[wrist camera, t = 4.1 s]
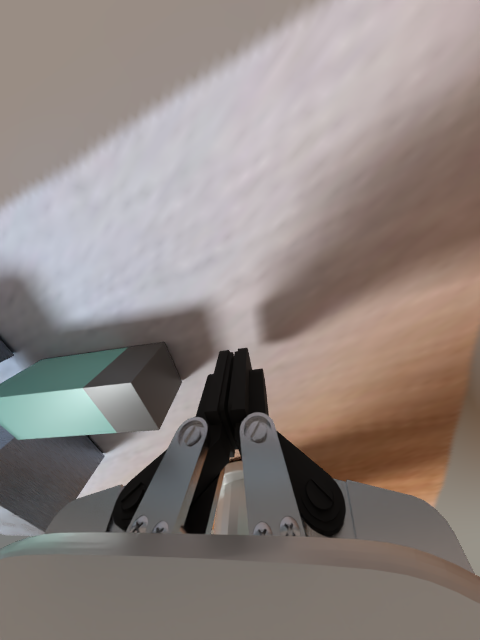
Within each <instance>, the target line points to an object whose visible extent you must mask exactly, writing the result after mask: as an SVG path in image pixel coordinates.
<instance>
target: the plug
mask: <svg viewBox="0 0 480 640" xmlns="http://www.w3.org/2000/svg"><path fill="white" fill-rule="evenodd" d="M181 383H182V381H181V379H180V377H179V374H178V372H177V370H176V368H175V365H174V363H173V361H172V358H171V356H170V354H169V352H168V349H167V347H166V345H165V343H164V342H162V343H155V344H148V345H141V346H134V347H127V348H120V349H113V350H106V351H99V352H92V353H85V354H78V355H71V356H64V357H57V358H50V359H43V360H40V361H39V362H37V363H35V364H33V365H32V366H30V367H28V368H27V369H25V370H23V371H21V372H20V373H18V374H16V375H15V376H13V377H11V378H9V379H8V380H6V381H4V382H3V383H1V384H0V425H1V426H2V427H3V428H5V429H6V430H7V431H8V432H9V433H10V434H12V435H13V436H14V437H15V438H16V439H17V440H22V439H36V438H51V437H65V436H79V435H94V434H108V433H122V432H137V431H151V430H159V429H160V427H161V425H162V423H163V421H164V419H165V417H166V415H167V413H168V410H169V408H170V406H171V404H172V402H173V400H174V398H175V396H176V394H177V392H178V390H179V387H180V385H181Z"/></svg>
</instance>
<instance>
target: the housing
mask: <svg viewBox="0 0 480 640" xmlns="http://www.w3.org/2000/svg"><path fill="white" fill-rule="evenodd" d="M12 356H14V354H13V353H12V352H11V351H10V350H9V349H8V348H7V346H6V345H5V344H4V343H3V342H2V341H1V340H0V362H2V361H4V360H6V359H8V358H10V357H12ZM103 458H104V455H103V454H102V453H101V451H100V450H99V449H98V448H97V447H96V446H95V445H94V444H93V443H92V441H91V440H90V439H89V438H88V437H87V436H86V435H79V436H65V437H51V438H36V439H22V440H17V439H16V438H15V437H14V436H13V435H12V434H10V433H9V432H8V431H7V430H6V429H5V428H3V427H2V426H1V425H0V533H1V534H3V535H23V536H37V535H42V534H44V533H45V531H46V530H47V528H48V526H49V525H50V523H51V521H52V520H53V518H54V517H55V516H56V515H57V514H58V513H59V511H60V510H61V509H62V508H63V507H65V506H66V505H67V504H68V503H70V502H72V501H74V500H76V498H77V497H78V495H79V494H80V492H81V491H82V489H83V488H84V486H85V485H86V483H87V482H88V480H89V479H90V477H91V476H92V474H93V473H94V471H95V470H96V468H97V467H98V465H99V464H100V462H101V461H102V459H103Z"/></svg>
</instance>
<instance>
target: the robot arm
mask: <svg viewBox="0 0 480 640" xmlns="http://www.w3.org/2000/svg"><path fill="white" fill-rule="evenodd" d="M235 449H239V452H240V455H241V458H242V461H236V462H232V463H229V458H230V457H234V454H235ZM216 508H217V510H216ZM215 513H216V517H215ZM214 517H215V525H214V533H213V534H211V531H212V526H213V522H214ZM0 640H480V577H479V576H477V575H475V573H474V572H473V569H472V567H471V565H470V563H469V561H468V559H467V557H466V555H465V553H464V551H463V549H462V547H461V545H460V543H459V541H458V539H457V537H456V535H455V533H454V531H453V530H452V528H451V527H450V525H449V524H448V522H447V521H446V519H445V518H444V517H443V516H442V515H441V514H440V513H439V512H438V511H437V510H436V509H435V508H434V507H432V506H431V505H429V504H428V503H427V502H425V501H424V500H422V499H419V498H417V497H414V496H411V495H407V494H403V493H399V492H395V491H391V490H387V489H383V488H379V487H375V486H371V485H367V484H363V483H359V482H354V481H350V480H346V482H345V481H341V480H337V479H333V478H332V477H331V476H330V475H329V474H328V473H326V472H325V471H324V470H323V469H322V468H320V467H319V466H318V465H317V464H316V463H314V462H313V461H312V460H311V459H310V458H309V457H307V456H306V455H305V454H304V453H303V452H301V451H300V450H299V449H298V448H297V447H295V446H294V445H293V444H292V443H291V442H289V441H288V440H287V439H286V438H285V437H284V436H282V435H281V434H280V433H279V432H278V431H276V428H275V425H274V423H273V420H272V419H271V418H270V417H269V415H268V404H267V394H266V386H265V379H264V373H263V369H255V370H252V367H251V362H250V357H249V353H248V349H247V348H242V349H238V351H237V352H235V354H233V352H230V351H229V350H226V351H220V352H219V356H218V359H217V363H216V367H215V371H214V374H210V375H208V377H207V380H206V384H205V387H204V390H203V394H202V397H201V401H200V404H199V407H198V411H197V414H196V417H193V418H190V419H188V420H186V421H185V422H184V423H183V424H182V425H181V426H180V427H179V428H178V430H177V431H176V433H175V435H174V437H173V439H172V441H171V443H170V445H169V447H168V449H167V450H166V451H165V452H163V453H162V454H161V455H160V456H159V457H158V458H156V459H155V460H154V461H153V462H152V463H151V464H149V465H148V466H147V467H146V468H145V469H144V470H142V471H141V472H140V473H139V474H138V475H137V476H135V477H134V478H133V479H132V480H131V481H130V482H129V483H128V484H127V485H126V486H123V485H122V484H121V485H118V486H115V487H112V488H109V489H106V490H103V491H100V492H97V493H94V494H90V495H87V496H84V497H81V498H78V499H76V500H74V501H72V502H70V503H68V504H67V505H66V506H65V507H63V508H62V509H61V510H60V511H59V513H58V514H57V515H56V516H55V517H54V518H53V520H52V521H51V523H50V525H49V526H48V528H47V530H46V531H45V533H44V534H42V535H37V536H33V537H28V538H25V539H22V540H19V541H16V542H14V543H12V544H9V545H7V546H5V547H3V548H1V549H0Z"/></svg>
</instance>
